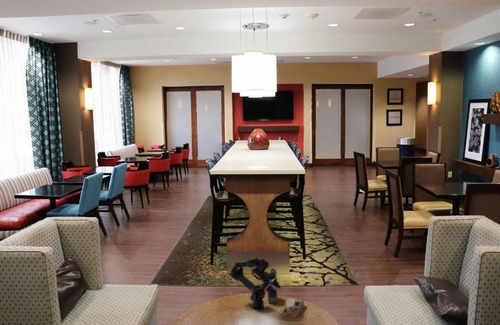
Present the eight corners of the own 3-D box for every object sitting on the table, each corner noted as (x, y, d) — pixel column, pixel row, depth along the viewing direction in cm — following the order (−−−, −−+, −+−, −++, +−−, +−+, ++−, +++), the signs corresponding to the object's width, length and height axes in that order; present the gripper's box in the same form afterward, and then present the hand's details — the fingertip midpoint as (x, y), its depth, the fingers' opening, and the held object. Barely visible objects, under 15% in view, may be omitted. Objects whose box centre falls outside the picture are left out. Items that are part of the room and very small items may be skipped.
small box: (269, 299, 321) (267, 284, 320) (278, 298, 320) (276, 284, 319) (268, 304, 310) (267, 290, 310) (277, 304, 310) (276, 289, 309)
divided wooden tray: (282, 317, 287) (281, 309, 287) (290, 305, 305) (289, 298, 305) (296, 318, 284) (296, 310, 283) (304, 306, 302) (303, 298, 301)
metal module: (287, 314, 289) (286, 301, 288) (289, 311, 293) (288, 298, 292) (294, 314, 287) (292, 301, 287) (295, 312, 291) (294, 298, 291)
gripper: (264, 270, 290) (281, 287, 287) (273, 262, 307) (289, 278, 304) (254, 282, 293) (271, 299, 290) (263, 272, 311) (279, 288, 307)
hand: (278, 290), depth 298 cm, fingers open, 9 cm apart
